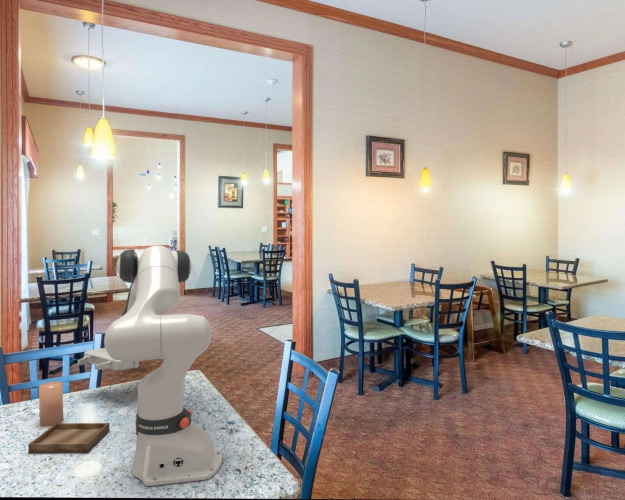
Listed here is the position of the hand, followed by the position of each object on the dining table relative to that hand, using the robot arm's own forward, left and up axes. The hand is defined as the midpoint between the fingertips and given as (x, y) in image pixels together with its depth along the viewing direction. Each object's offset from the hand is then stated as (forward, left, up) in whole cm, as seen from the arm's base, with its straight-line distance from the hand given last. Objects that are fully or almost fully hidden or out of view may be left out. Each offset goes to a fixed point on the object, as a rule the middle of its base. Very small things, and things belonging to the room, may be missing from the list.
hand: (87, 364), depth 146 cm
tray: (-7, +24, -15) cm, 29 cm away
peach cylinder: (+6, +11, -15) cm, 19 cm away
